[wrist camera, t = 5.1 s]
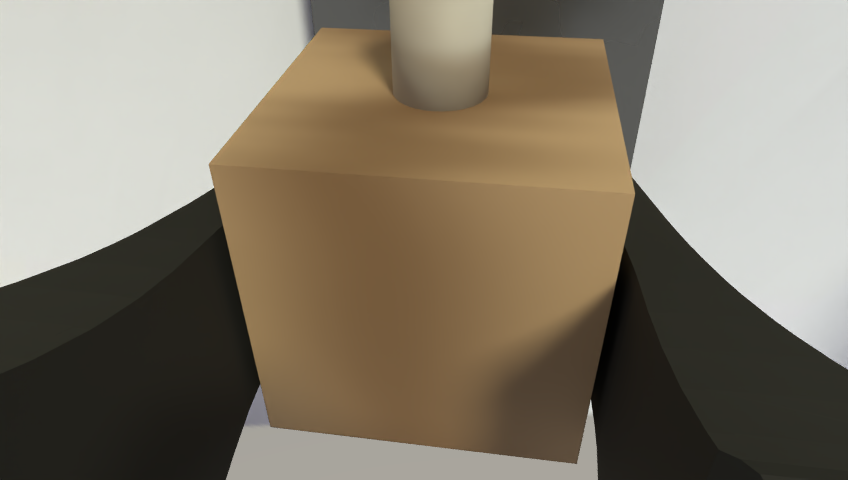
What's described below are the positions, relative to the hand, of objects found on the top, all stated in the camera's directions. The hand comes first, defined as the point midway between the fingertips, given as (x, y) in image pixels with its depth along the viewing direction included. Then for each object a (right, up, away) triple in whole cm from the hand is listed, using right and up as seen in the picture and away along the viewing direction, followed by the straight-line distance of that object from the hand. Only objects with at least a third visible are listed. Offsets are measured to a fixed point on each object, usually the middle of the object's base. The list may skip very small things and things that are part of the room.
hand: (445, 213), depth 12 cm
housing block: (0, +1, +1) cm, 2 cm away
